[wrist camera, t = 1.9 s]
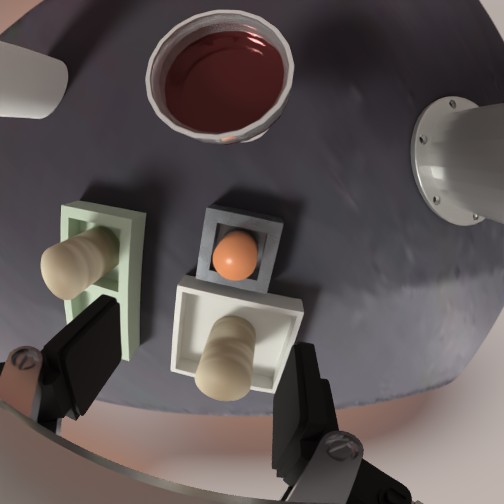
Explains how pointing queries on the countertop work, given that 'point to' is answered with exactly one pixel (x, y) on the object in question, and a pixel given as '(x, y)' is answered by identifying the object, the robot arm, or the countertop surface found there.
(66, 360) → the robot arm
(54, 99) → the cylindrical container
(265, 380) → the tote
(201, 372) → the cylinder
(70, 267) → the cylinder
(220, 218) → the button housing
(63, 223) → the pale green flat tray
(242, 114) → the wineglass
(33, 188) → the countertop surface
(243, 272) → the button
